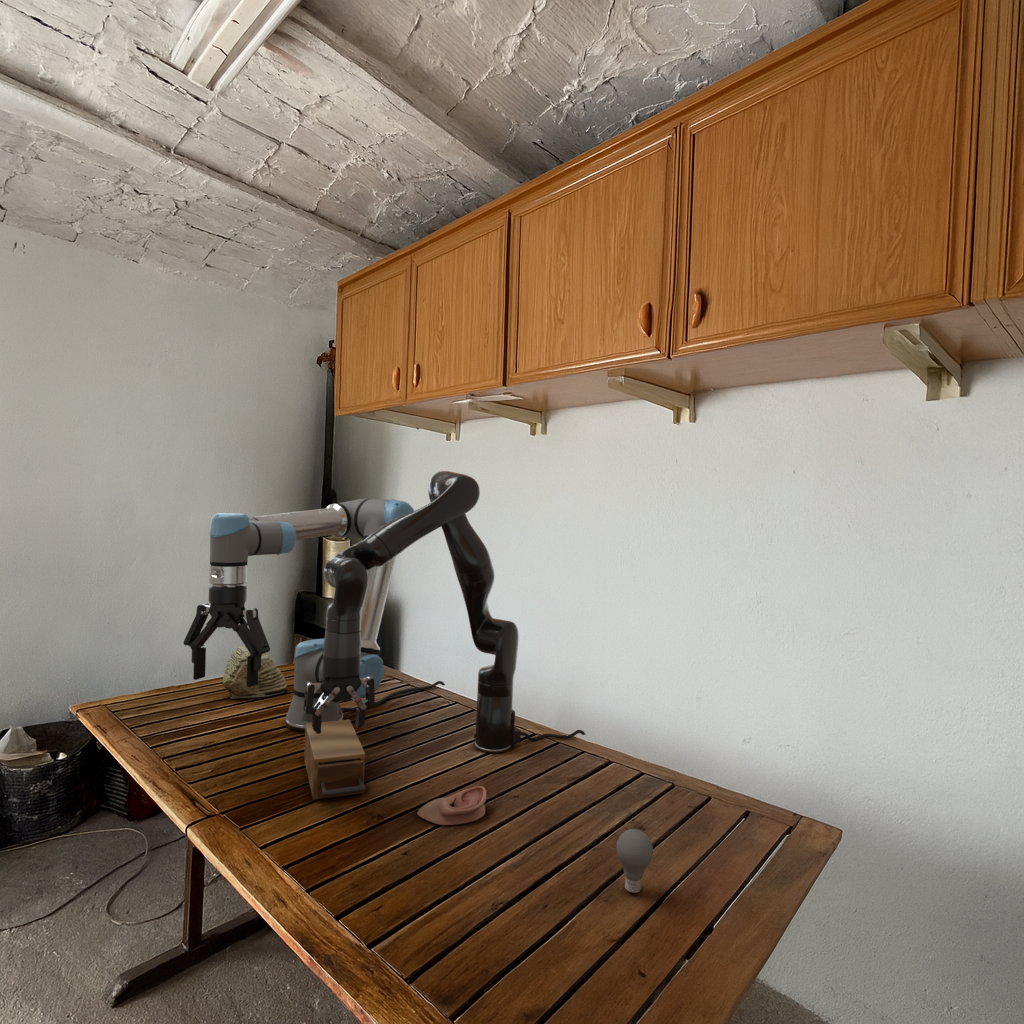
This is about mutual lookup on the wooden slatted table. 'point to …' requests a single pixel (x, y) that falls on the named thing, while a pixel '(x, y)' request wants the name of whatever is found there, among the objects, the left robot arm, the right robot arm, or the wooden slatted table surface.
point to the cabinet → (330, 748)
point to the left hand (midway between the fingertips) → (225, 681)
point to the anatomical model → (456, 807)
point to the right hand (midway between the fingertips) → (338, 729)
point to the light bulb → (634, 857)
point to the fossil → (237, 676)
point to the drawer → (340, 778)
